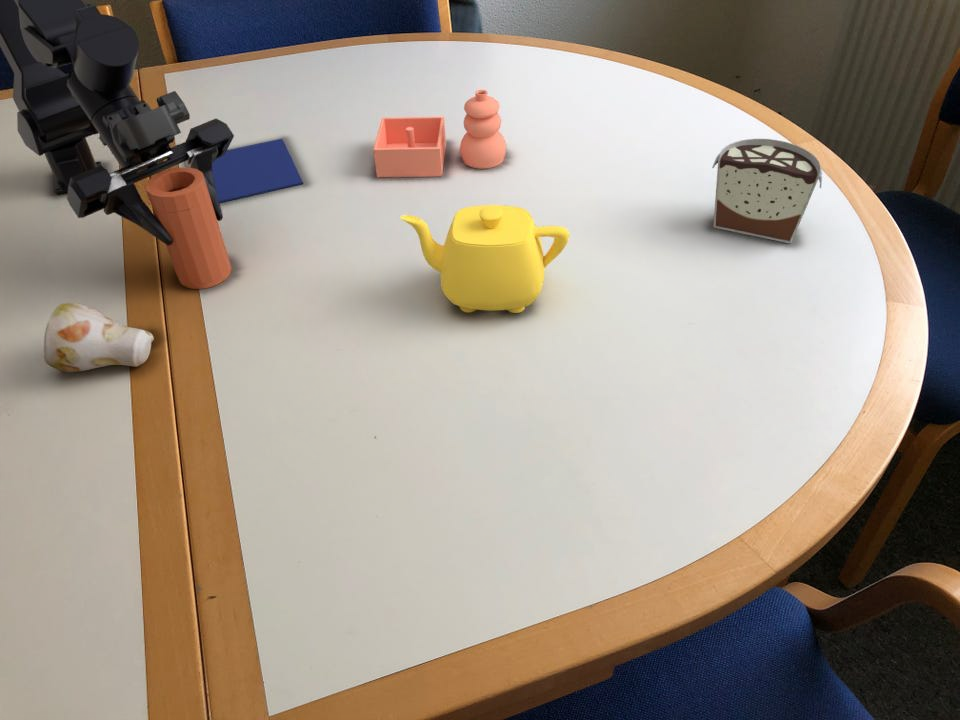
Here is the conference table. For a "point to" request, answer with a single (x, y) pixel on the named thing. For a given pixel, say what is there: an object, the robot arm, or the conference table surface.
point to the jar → (189, 226)
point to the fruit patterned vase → (91, 340)
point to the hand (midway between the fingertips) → (196, 231)
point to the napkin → (254, 170)
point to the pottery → (439, 141)
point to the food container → (764, 187)
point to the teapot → (491, 257)
